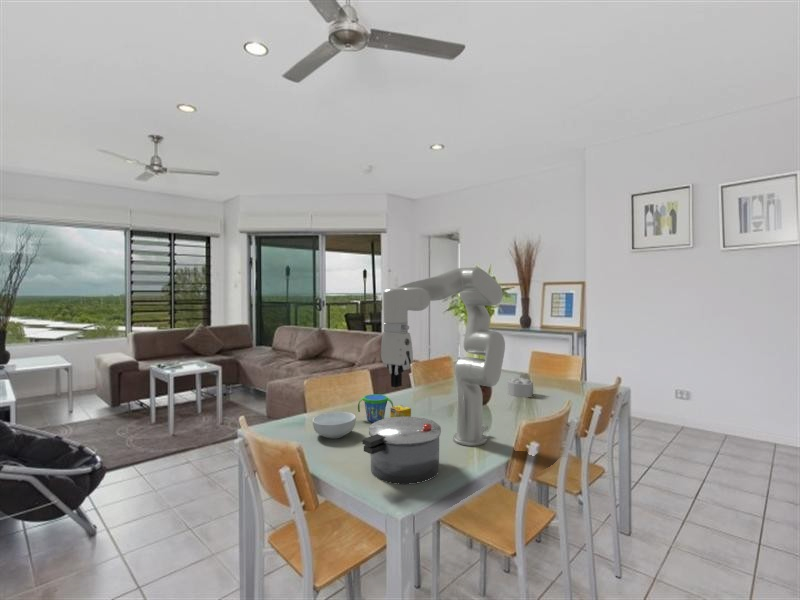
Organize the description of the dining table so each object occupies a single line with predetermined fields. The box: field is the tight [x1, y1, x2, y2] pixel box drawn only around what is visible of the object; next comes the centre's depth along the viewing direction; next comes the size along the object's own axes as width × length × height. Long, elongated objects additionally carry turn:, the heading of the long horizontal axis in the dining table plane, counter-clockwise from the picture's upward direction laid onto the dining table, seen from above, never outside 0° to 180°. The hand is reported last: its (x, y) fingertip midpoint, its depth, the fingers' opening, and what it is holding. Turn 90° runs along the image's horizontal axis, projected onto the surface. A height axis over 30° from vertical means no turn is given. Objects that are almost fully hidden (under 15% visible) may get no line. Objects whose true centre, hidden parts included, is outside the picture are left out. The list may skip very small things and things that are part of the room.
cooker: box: [363, 436, 440, 485], centre depth 134 cm, size 29×22×12 cm
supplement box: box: [389, 404, 412, 418], centre depth 165 cm, size 6×6×11 cm
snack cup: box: [357, 393, 394, 423], centre depth 184 cm, size 16×10×10 cm
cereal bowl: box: [312, 411, 357, 440], centre depth 165 cm, size 17×17×7 cm
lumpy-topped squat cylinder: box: [507, 377, 534, 399], centre depth 226 cm, size 10×13×9 cm
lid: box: [361, 416, 442, 447], centre depth 133 cm, size 29×23×3 cm
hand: (396, 386), depth 131 cm, fingers closed
